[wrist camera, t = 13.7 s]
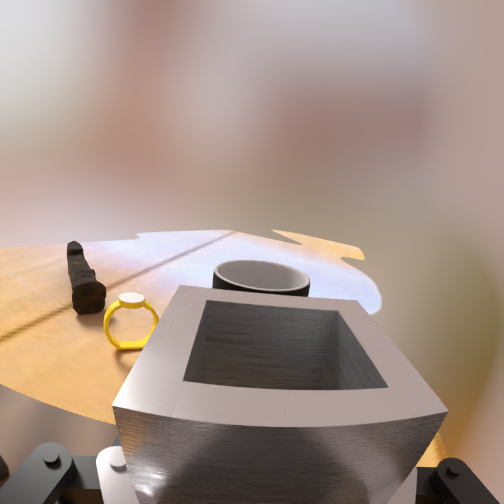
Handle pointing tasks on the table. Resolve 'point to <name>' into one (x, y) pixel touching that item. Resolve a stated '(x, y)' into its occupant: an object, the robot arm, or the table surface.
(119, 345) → the watch
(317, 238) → the table surface
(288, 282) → the mug
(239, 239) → the table surface
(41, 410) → the walnut stand board
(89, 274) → the hand tool
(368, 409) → the open-top grey box
